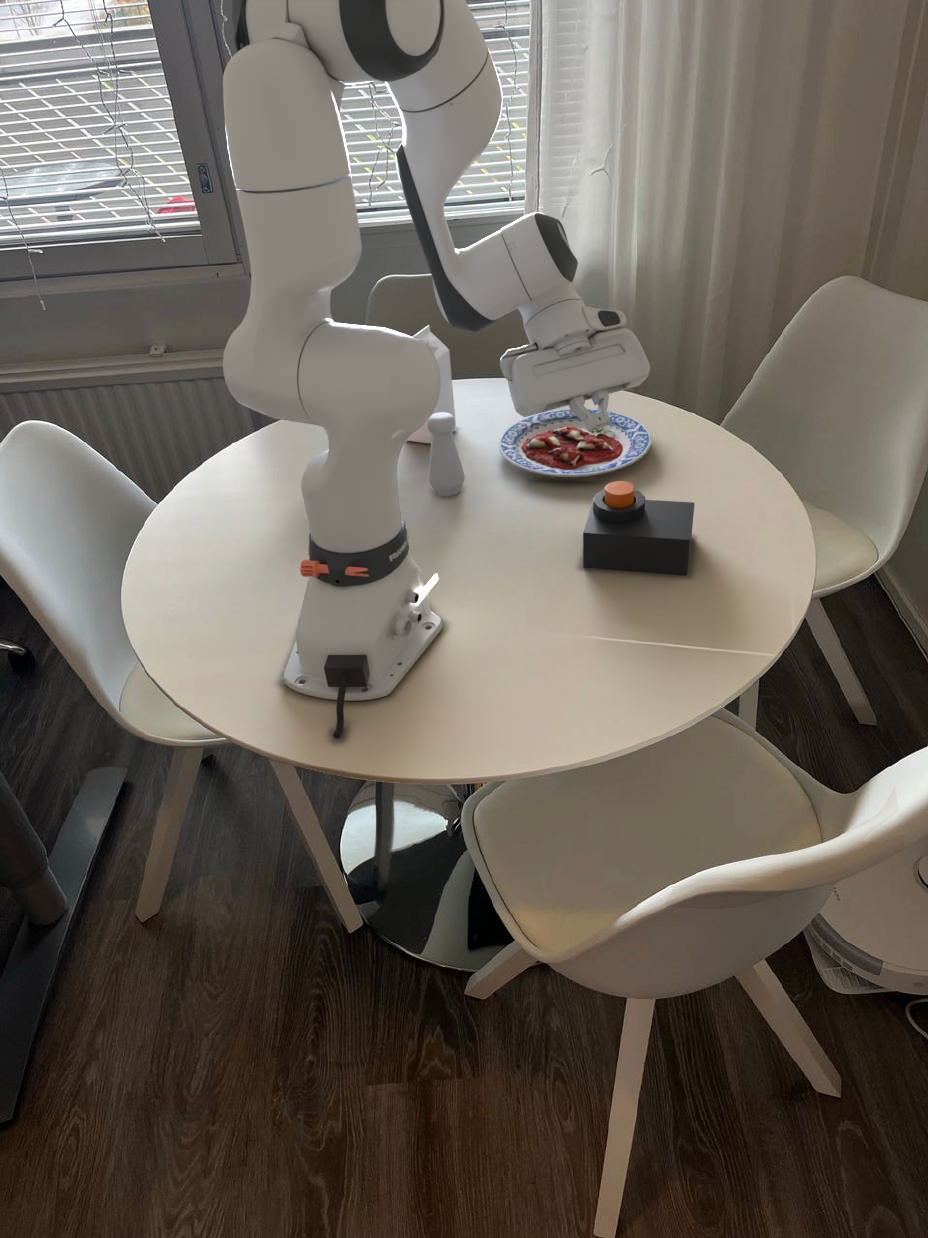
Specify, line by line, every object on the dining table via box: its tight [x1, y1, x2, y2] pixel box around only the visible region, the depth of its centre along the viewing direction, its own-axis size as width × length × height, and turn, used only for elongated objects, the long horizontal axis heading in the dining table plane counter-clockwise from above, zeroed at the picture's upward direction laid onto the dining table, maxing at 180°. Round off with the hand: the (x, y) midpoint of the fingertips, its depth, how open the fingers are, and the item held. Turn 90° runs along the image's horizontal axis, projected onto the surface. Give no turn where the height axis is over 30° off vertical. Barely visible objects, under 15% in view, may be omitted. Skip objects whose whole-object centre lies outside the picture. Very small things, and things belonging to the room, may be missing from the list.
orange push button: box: [604, 480, 636, 508], centre depth 120 cm, size 4×4×2 cm
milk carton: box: [406, 324, 457, 445], centre depth 154 cm, size 7×7×19 cm
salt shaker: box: [427, 412, 466, 498], centre depth 138 cm, size 6×6×13 cm
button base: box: [582, 488, 695, 577], centre depth 120 cm, size 14×10×8 cm
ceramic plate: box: [498, 408, 652, 478], centre depth 148 cm, size 26×26×3 cm
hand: (599, 427), depth 119 cm, fingers closed
